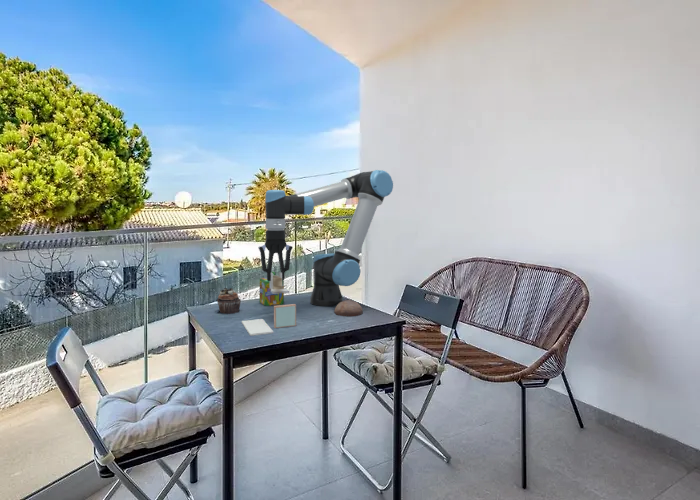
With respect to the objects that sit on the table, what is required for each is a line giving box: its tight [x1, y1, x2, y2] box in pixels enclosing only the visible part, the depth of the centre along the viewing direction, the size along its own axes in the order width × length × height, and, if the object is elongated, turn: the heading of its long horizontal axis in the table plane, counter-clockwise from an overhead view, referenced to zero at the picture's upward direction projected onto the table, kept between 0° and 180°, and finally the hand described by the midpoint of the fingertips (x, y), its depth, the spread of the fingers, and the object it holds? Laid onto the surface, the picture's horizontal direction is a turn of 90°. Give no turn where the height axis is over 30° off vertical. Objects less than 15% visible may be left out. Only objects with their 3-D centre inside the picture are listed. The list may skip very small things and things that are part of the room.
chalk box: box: [259, 270, 285, 307], centre depth 187 cm, size 9×9×15 cm
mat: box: [241, 318, 274, 337], centre depth 149 cm, size 8×18×1 cm, turn 24°
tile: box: [273, 303, 297, 329], centre depth 150 cm, size 8×2×8 cm, turn 114°
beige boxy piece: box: [271, 274, 290, 294], centre depth 160 cm, size 6×13×5 cm, turn 24°
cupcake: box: [216, 287, 242, 315], centre depth 172 cm, size 10×10×10 cm
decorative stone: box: [333, 299, 364, 317], centre depth 171 cm, size 12×12×6 cm
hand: (275, 288), depth 162 cm, fingers closed on beige boxy piece, 3 cm apart
